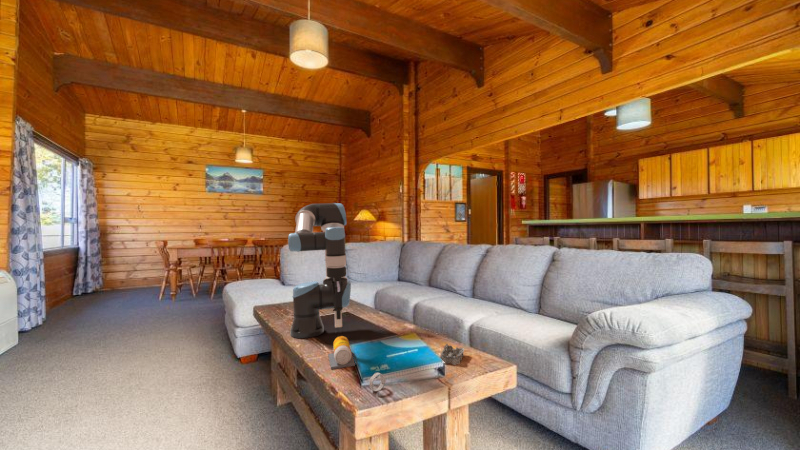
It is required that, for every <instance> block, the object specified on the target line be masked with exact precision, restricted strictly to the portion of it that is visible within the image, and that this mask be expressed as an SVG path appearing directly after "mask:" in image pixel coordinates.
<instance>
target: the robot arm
mask: <svg viewBox="0 0 800 450" xmlns="http://www.w3.org/2000/svg"><path fill="white" fill-rule="evenodd" d="M345 209H346V208H345V206H344V204H342V203H338V202H337V203H336V202H331V203H310V204H308V205H305V206H303V207H302V208H300V209H299V210H298V211H297V213H296V215H295V217H294V219H295V220H294V221H295V224H296V226H295V231H294V232H292V233H289V234H288V237H287V238H288V239H287V242H288V244H287V245H288V250H289V251H290V252H299V253H300V252H311V251H324V257H325V258H324V261H325V278H324V279H323V280H322V284H320V283H319V281H318V280H317V281H316V280H315V281H313V280H312V281H307V282H303V283H300V284H296V285H295V286H294V287H293V288H292V301H293V302H292V303H293V304H292V305H293V319H292V323H291V327H290V330H289V331H290V332H289V333H290V336H291V337H292V338H295V339H307V338H313V337H318V336H320V335H322V334H324V332H325V327H324V323H323V320H322V318H321V314H320V310H330V309H331V310H332V309H333V310H332V312H334V314H333V315H334V328H335V329H336V328H342V327H343V308H347V307H348V306H350V301H351V289H352V285H351V284H352V283H351V282H349V281H348V278H347V267H346V265H347V255H346V233H345V232H346V231H345V226H347V223H348V222H347V221H348V220H347V214H346V210H345ZM314 227H320V229H321V231H317V232H316V231H315V232H314Z"/></svg>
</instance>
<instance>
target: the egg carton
mask: <svg viewBox="0 0 800 450" xmlns="http://www.w3.org/2000/svg"><path fill="white" fill-rule="evenodd" d="M464 351H465V348H464V347H463V348H462V347H458V346H456V348H453V345H451V344H450V345H449V344H448V343H446V344H444V347H443V349H442V351H441V353H440V357H439V358H440V360H441V359H442V360H443V361H444V362H445V364H444V365H447V364H452V366H456V365H460V364H461V362H462V358H463V357H464V355H465V354H464Z"/></svg>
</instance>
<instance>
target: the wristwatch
mask: <svg viewBox="0 0 800 450" xmlns="http://www.w3.org/2000/svg"><path fill="white" fill-rule="evenodd" d="M376 377H378V379H379V381H380V384H379V386H378V387H376V388H374V383H373V382H374V380H375V379H376ZM386 382H387V381H386V377H385V376H384V375H383V374H382V373H380V372H375V373H374V374H373V375H372V376H371V377H370V378H369V383H368V384H369V388H370V390H372V391H373V392H380V391H381V390H382V389H383V388H384V385H385V384H386Z"/></svg>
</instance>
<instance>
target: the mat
mask: <svg viewBox="0 0 800 450" xmlns="http://www.w3.org/2000/svg"><path fill="white" fill-rule="evenodd" d="M352 353H353V351H352V352H351V359H350V361H349V362H348V363H346V364H344V365H341V364H338V363H337V362H336V361H335V358H334V352H332V353H327V355H328V356H327V358H328V361H329V366H330V369H331V370H336V369H343V368H349V367H356V366H355V363H354V359H353V356H354V355H353V356H352Z"/></svg>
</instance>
